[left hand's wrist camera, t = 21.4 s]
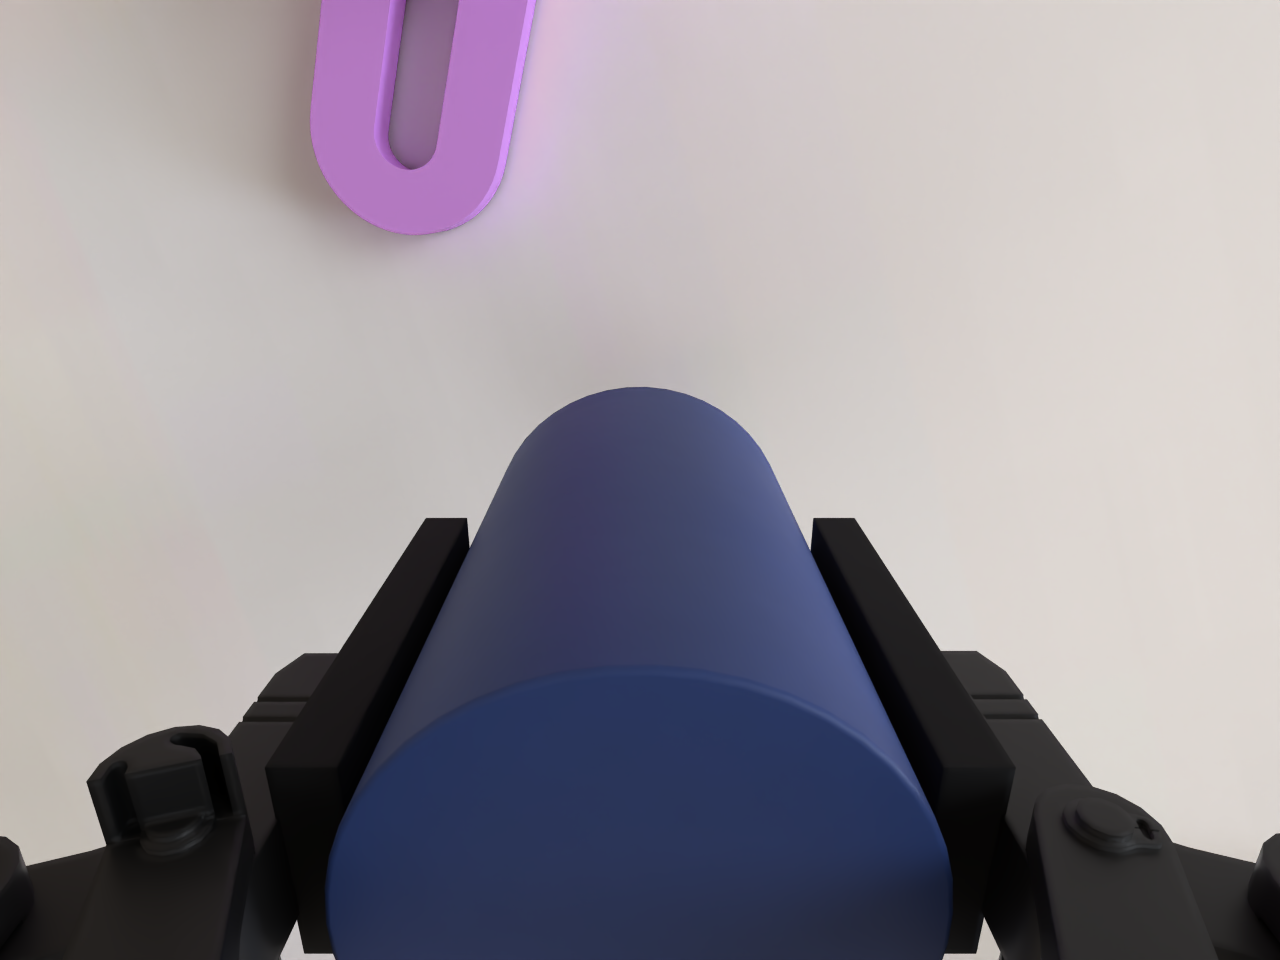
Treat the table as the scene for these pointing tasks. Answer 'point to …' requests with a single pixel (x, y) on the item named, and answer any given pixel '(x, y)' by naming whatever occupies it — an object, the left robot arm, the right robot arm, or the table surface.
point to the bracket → (470, 121)
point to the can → (639, 729)
